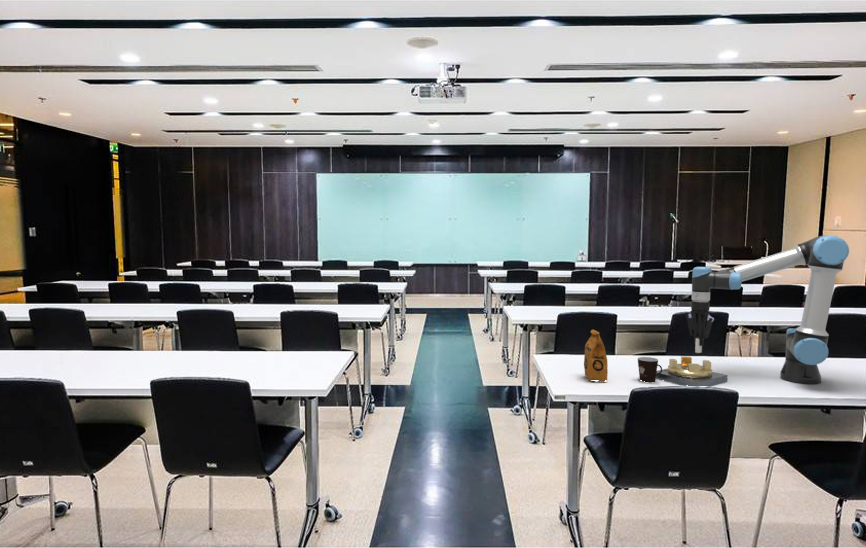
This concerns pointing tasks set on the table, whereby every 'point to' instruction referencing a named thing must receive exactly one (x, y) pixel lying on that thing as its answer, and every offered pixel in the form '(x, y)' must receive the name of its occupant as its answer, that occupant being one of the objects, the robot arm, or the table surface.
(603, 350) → the coffee package
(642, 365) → the coffee mug
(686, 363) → the lathe chuck
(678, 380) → the housing
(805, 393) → the table surface
